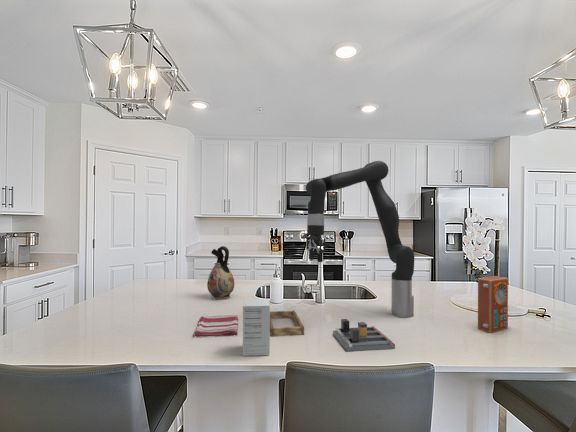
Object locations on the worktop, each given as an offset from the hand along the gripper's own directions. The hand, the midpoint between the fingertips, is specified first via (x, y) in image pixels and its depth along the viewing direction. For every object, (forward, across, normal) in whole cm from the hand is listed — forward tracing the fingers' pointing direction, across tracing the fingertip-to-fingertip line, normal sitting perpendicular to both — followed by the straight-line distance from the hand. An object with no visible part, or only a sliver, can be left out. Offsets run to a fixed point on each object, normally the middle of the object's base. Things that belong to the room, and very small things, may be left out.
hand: (315, 260), depth 144 cm
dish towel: (+28, +10, +41) cm, 51 cm away
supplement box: (+28, -19, +33) cm, 47 cm away
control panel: (+28, -34, -66) cm, 80 cm away
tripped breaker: (+26, -26, -7) cm, 37 cm away
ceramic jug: (+28, +58, +30) cm, 71 cm away
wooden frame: (+27, +1, +15) cm, 31 cm away
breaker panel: (+27, -26, -7) cm, 38 cm away
